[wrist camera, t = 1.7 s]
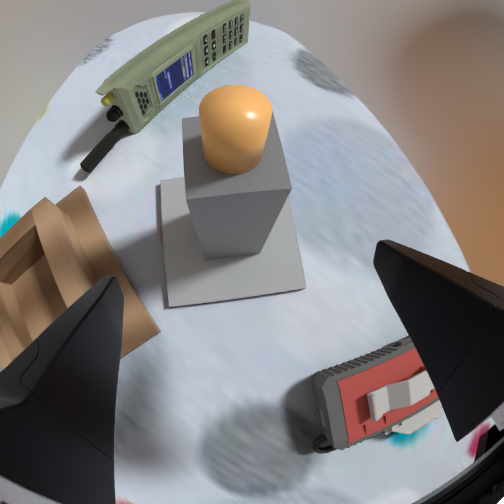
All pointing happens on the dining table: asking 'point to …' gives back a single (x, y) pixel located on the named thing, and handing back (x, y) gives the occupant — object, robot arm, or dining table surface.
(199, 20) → the handheld radio
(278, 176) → the connector plug
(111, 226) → the dining table surface
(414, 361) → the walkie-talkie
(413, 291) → the robot arm
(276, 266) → the mat
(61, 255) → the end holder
